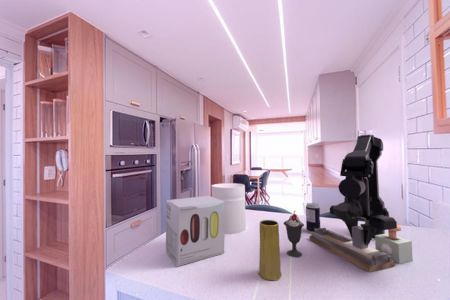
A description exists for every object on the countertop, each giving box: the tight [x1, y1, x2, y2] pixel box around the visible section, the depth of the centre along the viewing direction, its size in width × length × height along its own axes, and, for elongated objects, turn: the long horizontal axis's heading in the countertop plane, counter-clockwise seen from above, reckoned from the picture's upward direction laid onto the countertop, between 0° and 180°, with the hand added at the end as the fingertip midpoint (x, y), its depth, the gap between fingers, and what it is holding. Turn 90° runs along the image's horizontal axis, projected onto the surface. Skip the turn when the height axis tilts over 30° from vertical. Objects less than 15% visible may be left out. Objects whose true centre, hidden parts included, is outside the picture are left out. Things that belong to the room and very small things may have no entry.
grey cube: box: [374, 232, 414, 265], centre depth 64 cm, size 6×7×6 cm
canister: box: [211, 182, 246, 235], centre depth 94 cm, size 16×16×20 cm
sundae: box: [283, 210, 305, 258], centre depth 67 cm, size 7×7×15 cm
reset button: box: [388, 224, 402, 241], centre depth 65 cm, size 4×4×5 cm
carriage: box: [343, 225, 379, 259], centre depth 64 cm, size 5×8×8 cm, turn 17°
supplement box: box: [165, 195, 225, 268], centre depth 70 cm, size 17×13×18 cm
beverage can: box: [305, 202, 321, 233], centre depth 88 cm, size 6×6×12 cm
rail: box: [309, 227, 395, 273], centre depth 69 cm, size 10×24×4 cm, turn 17°
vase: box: [258, 219, 282, 281], centre depth 56 cm, size 6×6×14 cm
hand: (360, 242), depth 64 cm, fingers open, 4 cm apart
